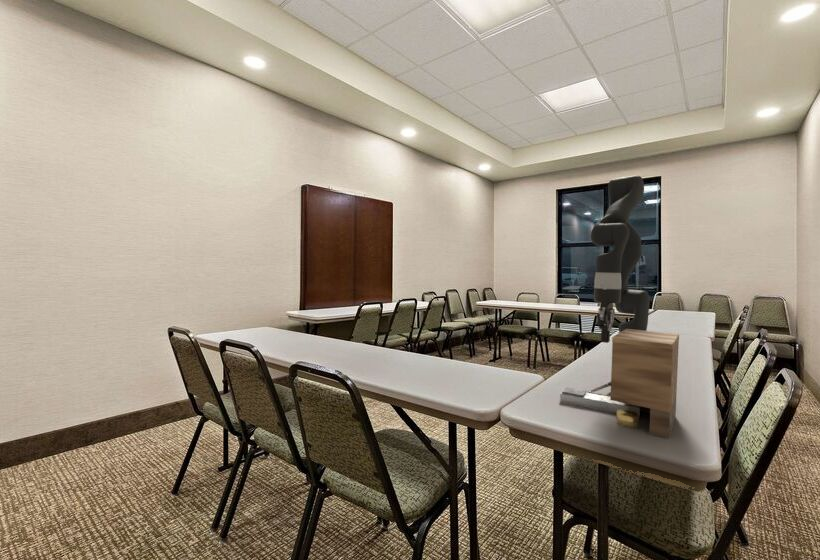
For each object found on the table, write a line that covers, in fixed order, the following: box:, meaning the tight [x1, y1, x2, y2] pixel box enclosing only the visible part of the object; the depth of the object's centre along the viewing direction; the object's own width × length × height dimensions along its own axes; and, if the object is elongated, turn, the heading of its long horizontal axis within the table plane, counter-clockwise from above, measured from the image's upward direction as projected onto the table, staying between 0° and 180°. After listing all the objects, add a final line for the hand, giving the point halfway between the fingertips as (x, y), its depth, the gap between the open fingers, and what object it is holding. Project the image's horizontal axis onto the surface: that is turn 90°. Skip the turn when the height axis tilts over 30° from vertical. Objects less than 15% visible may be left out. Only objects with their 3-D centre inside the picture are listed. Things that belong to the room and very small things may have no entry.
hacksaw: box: [587, 381, 611, 397], centre depth 129 cm, size 24×10×2 cm, turn 128°
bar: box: [559, 387, 641, 418], centre depth 115 cm, size 6×21×4 cm, turn 57°
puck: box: [615, 410, 639, 429], centre depth 102 cm, size 5×5×3 cm
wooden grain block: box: [610, 329, 680, 440], centre depth 104 cm, size 19×13×23 cm
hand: (605, 342), depth 121 cm, fingers closed
